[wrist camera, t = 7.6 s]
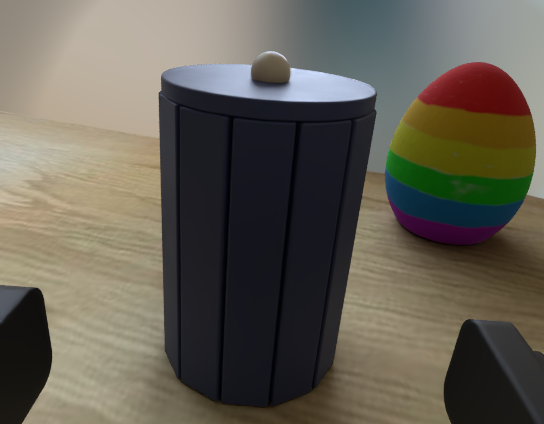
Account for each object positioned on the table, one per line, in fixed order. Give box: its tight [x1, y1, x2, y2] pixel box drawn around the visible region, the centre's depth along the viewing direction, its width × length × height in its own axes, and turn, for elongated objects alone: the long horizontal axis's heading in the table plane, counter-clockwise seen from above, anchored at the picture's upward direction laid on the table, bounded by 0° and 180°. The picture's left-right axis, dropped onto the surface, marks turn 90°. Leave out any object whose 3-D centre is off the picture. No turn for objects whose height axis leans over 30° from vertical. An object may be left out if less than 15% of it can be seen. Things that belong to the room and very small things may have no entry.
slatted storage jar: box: [159, 52, 377, 407], centre depth 16 cm, size 6×6×11 cm
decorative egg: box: [385, 62, 536, 245], centre depth 27 cm, size 8×8×10 cm
